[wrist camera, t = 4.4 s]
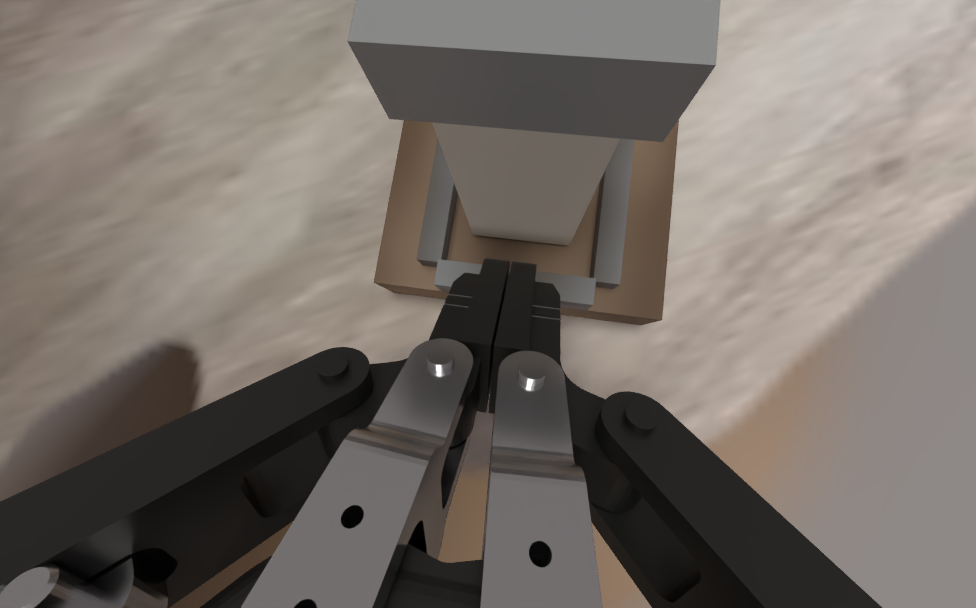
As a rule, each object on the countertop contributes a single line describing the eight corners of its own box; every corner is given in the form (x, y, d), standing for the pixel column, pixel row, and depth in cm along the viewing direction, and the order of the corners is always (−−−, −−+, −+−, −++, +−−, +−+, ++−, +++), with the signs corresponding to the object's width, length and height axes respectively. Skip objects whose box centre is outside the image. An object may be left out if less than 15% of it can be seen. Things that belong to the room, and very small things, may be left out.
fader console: (393, 292, 18) (358, 274, 14) (465, -113, 21) (453, -220, 17) (641, 325, 17) (678, 316, 13) (680, -108, 20) (720, -222, 16)
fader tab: (457, 244, 15) (347, 40, 5) (471, 155, 16) (394, -180, 6) (582, 259, 15) (715, 65, 5) (592, 167, 15) (733, -179, 5)
